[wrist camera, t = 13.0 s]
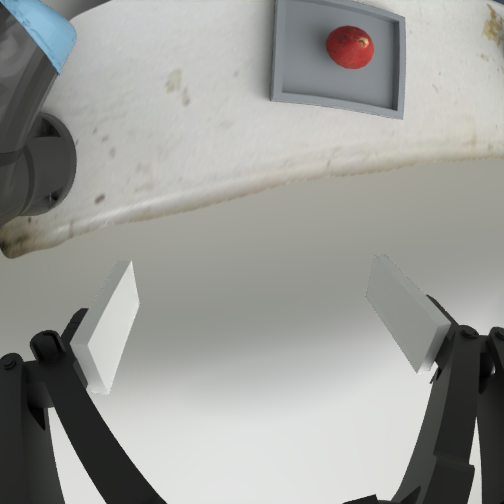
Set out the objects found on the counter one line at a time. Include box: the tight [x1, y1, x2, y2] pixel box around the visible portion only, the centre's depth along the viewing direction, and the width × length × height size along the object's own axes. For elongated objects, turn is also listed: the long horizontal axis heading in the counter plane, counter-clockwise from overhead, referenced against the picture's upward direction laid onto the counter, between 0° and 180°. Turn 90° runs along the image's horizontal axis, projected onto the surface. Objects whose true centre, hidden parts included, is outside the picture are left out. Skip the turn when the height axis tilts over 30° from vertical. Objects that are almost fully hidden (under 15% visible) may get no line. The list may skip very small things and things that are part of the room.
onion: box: [326, 25, 374, 69], centre depth 29 cm, size 6×6×8 cm
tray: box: [270, 0, 406, 120], centre depth 32 cm, size 18×16×2 cm
